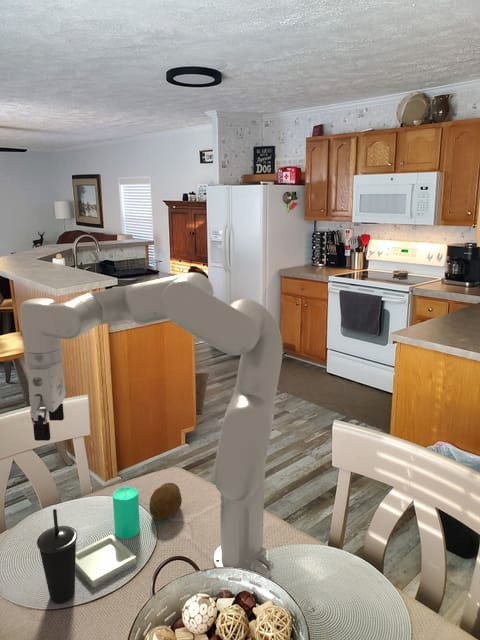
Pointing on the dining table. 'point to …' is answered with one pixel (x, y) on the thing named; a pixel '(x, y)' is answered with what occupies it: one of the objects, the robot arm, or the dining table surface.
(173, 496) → the potato
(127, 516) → the candle
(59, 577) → the drinking cup
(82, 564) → the tray
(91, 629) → the dining table surface
